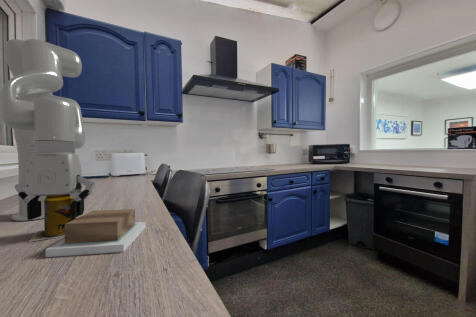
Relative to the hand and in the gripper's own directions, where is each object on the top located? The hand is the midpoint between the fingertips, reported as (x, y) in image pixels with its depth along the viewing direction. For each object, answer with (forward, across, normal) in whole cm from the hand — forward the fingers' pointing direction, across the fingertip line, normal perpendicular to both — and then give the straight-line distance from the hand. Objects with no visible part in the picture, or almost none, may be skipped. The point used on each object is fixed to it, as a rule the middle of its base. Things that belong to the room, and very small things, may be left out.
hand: (56, 216), depth 49 cm
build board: (+4, +14, -6) cm, 15 cm away
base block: (+3, +14, -6) cm, 15 cm away
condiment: (+4, 0, 0) cm, 5 cm away
